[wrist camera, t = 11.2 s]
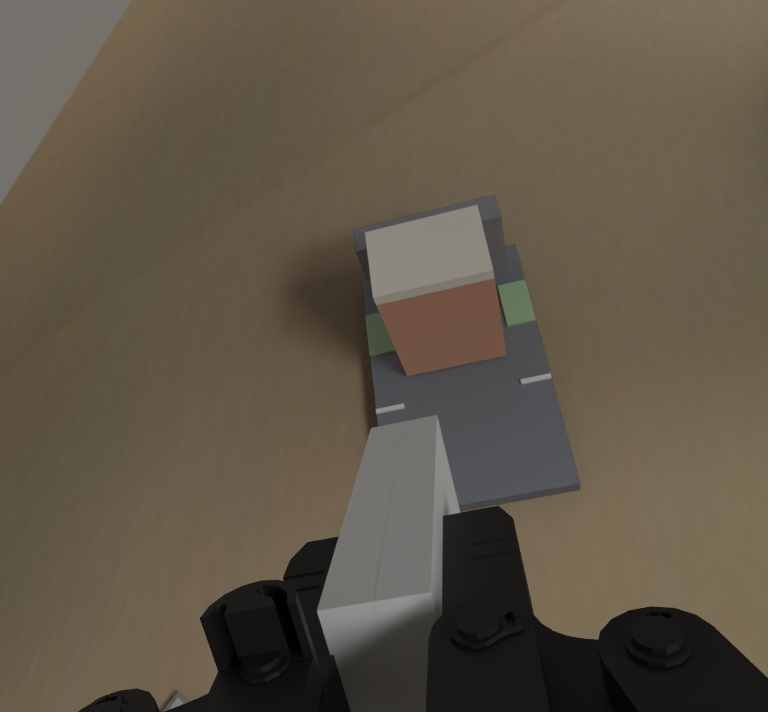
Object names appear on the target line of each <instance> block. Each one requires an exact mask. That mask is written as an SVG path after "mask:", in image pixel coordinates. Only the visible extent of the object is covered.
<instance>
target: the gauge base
mask: <svg viewBox="0 0 768 712" xmlns="http://www.w3.org/2000/svg"><path fill="white" fill-rule="evenodd" d="M474 205H478V209H479V213H480V217H481V221H482V225H483V229H484V234H485V238H486V242H487V246H488V250H489V254H490V258H491V262H492V266H493V271H494V277H495V283H496V290H497V296H498V302H499V309H500V315H501V321H502V327H503V334H504V340H505V346H506V353H507V355H506V356H501V357H496V358H492V359H487V360H482V361H477V362H473V363H468V364H463V365H459V366H454V367H449V368H444V369H440V370H435V371H430V372H425V373H421V374H416V375H411V376H407V375H406V372H405V370H404V368H403V365H402V363H401V361H400V359H399V356H398V354H397V352H396V349H395V347H394V345H393V343H392V340H391V338H390V336H389V333H388V331H387V329H386V327H385V324H384V322H383V320H382V317H381V315H380V313H379V311H378V308H377V306H376V304H375V301H374V299H373V294H372V286H371V278H370V270H369V262H368V254H367V245H366V237H365V232H368V231H372V230H376V229H380V228H384V227H388V226H393V225H397V224H401V223H405V222H409V221H413V220H417V219H421V218H425V217H429V216H433V215H437V214H442V213H446V212H450V211H454V210H458V209H462V208H466V207H470V206H474ZM353 231H354V240H355V249H356V253H357V255H358V258H359V260H360V262H361V265H362V267H363V269H364V272H365V274H366V276H367V279H365V280H362V289H363V298H364V307H365V320H366V329H367V338H368V347H369V355H370V360H371V369H372V377H373V386H374V395H375V404H376V414H377V422H378V427H379V426H384V425H389V424H394V423H399V422H404V421H409V420H414V419H419V418H424V417H429V416H434V415H437V417H438V421H439V425H440V429H441V434H442V438H443V442H444V446H445V450H446V455H447V459H448V463H449V467H450V471H451V475H452V480H453V484H454V488H455V492H456V496H457V501H458V505H459V509H460V511H464V510H470V509H475V508H481V507H487V506H492V505H498V504H503V503H509V502H514V501H520V500H525V499H531V498H537V497H542V496H548V495H553V494H559V493H564V492H570V491H576V490H580V481H579V477H578V473H577V470H576V466H575V462H574V459H573V455H572V451H571V448H570V444H569V440H568V436H567V433H566V429H565V425H564V422H563V418H562V414H561V411H560V407H559V403H558V400H557V396H556V392H555V389H554V385H553V381H552V377H551V373H550V370H549V367H548V363H547V359H546V356H545V352H544V348H543V345H542V341H541V337H540V334H539V330H538V326H537V323H536V318H535V314H534V311H533V307H532V303H531V299H530V296H529V292H528V288H527V285H526V281H525V279H524V275H523V271H522V268H521V264H520V260H519V256H518V253H517V249H516V245H515V244H514V245H510V246H506V247H505V244H504V236H503V228H502V221H501V215H500V211H499V207H498V203H497V200H496V196H495V195H491V196H487V197H483V198H479V199H475V200H471V201H467V202H463V203H459V204H455V205H451V206H447V207H442V208H438V209H434V210H430V211H426V212H422V213H418V214H414V215H410V216H406V217H402V218H398V219H394V220H390V221H386V222H382V223H377V224H373V225H369V226H365V227H361V228H357V229H353Z"/></svg>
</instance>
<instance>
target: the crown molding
mask: <svg viewBox="0 0 768 712" xmlns="http://www.w3.org/2000/svg"><path fill="white" fill-rule="evenodd" d="M188 702H189V701H188V700H187V699H186V698H185V697H184V696H183V695H182V694H181V693H180V692H179V691H177V692H176V694H175V695H174V697H173V698H172V699H171V701H170V702H169V703H168V705H167V706H166V707H165V709H164V710H163V711H162V712H164V711H167V710H169V709H172V708H175V707H177V706H180V705H182V704H185V703H188Z"/></svg>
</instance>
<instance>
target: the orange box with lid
mask: <svg viewBox="0 0 768 712" xmlns="http://www.w3.org/2000/svg"><path fill="white" fill-rule="evenodd" d="M365 237H366V245H367V254H368V262H369V270H370V278H371V286H372V294H373V299H374V301H375V304H376V306H377V308H378V311H379V313H380V315H381V317H382V320H383V322H384V324H385V327H386V329H387V331H388V333H389V336H390V338H391V340H392V343H393V345H394V347H395V349H396V352H397V354H398V356H399V359H400V361H401V363H402V365H403V368H404V370H405V372H406V375H407V376H411V375H416V374H421V373H425V372H430V371H435V370H440V369H444V368H449V367H454V366H459V365H463V364H468V363H473V362H477V361H482V360H487V359H492V358H496V357H501V356H506V355H507V353H506V346H505V340H504V334H503V327H502V321H501V315H500V309H499V302H498V296H497V290H496V283H495V277H494V271H493V266H492V262H491V258H490V254H489V250H488V246H487V242H486V238H485V234H484V229H483V225H482V221H481V217H480V213H479V209H478V205H474V206H470V207H466V208H462V209H458V210H454V211H450V212H446V213H442V214H437V215H433V216H429V217H425V218H421V219H417V220H413V221H409V222H405V223H401V224H397V225H393V226H388V227H384V228H380V229H376V230H372V231H368V232H365Z"/></svg>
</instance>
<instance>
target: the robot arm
mask: <svg viewBox="0 0 768 712" xmlns="http://www.w3.org/2000/svg"><path fill="white" fill-rule="evenodd" d="M283 579H284V581H280V580H265V581H258V582H254V583H251V584H247V585H244V586H241V587H239V588H237V589H235V590H233V591H231V592H229V593H227V594H225V595H223V596H222V597H221V598H219V599H218V600H217V601H215V602H214V603H213V604H211V605H210V606H209V607H208V609H207V610H206V611H205V612H204V614H203V615H202V616H201V617H200V620H201V623H202V626H203V629H204V632H205V635H206V637H207V640H208V643H209V646H210V649H211V652H212V654H213V657H214V660H215V663H216V666H217V669H218V674H217V676H216V678H215V680H214V682H213V685H212V687H211V689H210V691H209V693H208V694H206V695H204V696H202V697H200V698H198V699H195V700H193V701H190V702H188V703H185V704H182V705H180V706H177V707H175V708H172V709H169V710H167V711H164V712H768V678H767V677H766V676H765V675H764V674H763V673H762V672H761V671H760V670H759V669H758V668H757V667H756V666H754V665H753V664H752V663H751V662H750V661H749V660H748V659H747V658H746V657H745V656H744V655H743V654H742V653H741V652H740V651H739V650H738V649H737V648H736V647H735V646H733V645H732V644H731V643H730V642H729V641H728V640H727V639H726V638H725V637H724V636H723V635H722V634H721V633H720V632H719V631H718V630H717V629H716V628H715V627H714V626H712V625H711V624H709V623H708V622H706V621H705V620H703V619H702V618H700V617H699V616H697V615H695V614H692V613H689V612H685V611H682V610H679V609H676V608H666V607H646V608H640V609H635V610H629V611H627V612H625V613H623V614H621V615H619V616H617V617H615V618H613V619H611V620H610V621H609V623H608V624H607V625H606V626H605V627H604V628H603V629H602V630H601V631H600V635H599V640H594V639H583V638H577V637H571V636H566V635H563V634H560V633H558V632H555V631H552V630H551V629H549V628H548V627H546V626H544V625H543V624H541V622H540V621H539V620H538V619H537V618H536V617H535V616H534V614H533V608H532V603H531V598H530V593H529V589H528V584H527V580H526V575H525V571H524V566H523V562H522V557H521V552H520V548H519V543H518V539H517V534H516V530H515V525H514V521H513V518H512V517H511V516H510V515H509V514H507V513H506V512H505V511H504V510H503V509H501V508H500V507H499V506H495V507H489V508H484V509H478V510H473V511H467V512H462V513H460V509H459V505H458V501H457V496H456V492H455V488H454V484H453V480H452V475H451V471H450V467H449V463H448V459H447V455H446V450H445V446H444V442H443V438H442V434H441V429H440V425H439V421H438V417H437V415H434V416H429V417H424V418H419V419H414V420H409V421H404V422H399V423H394V424H389V425H384V426H379V427H374V428H371V430H370V433H369V437H368V440H367V443H366V447H365V450H364V453H363V457H362V460H361V464H360V467H359V470H358V474H357V477H356V480H355V484H354V487H353V491H352V494H351V497H350V501H349V504H348V507H347V511H346V514H345V518H344V521H343V524H342V528H341V531H340V534H339V537H334V538H329V539H323V540H317V541H312V542H307V543H306V544H305V545H304V546H303V547H302V548H301V549H300V550H299V551H298V552H297V553H296V554H295V556H294V557H293V558H292V559H291V560H290V562H289V564H288V567H287V569H286V572H285V574H284V577H283ZM79 712H160V711H159V708H158V706H157V703H156V701H155V699H154V698H153V697H152V695H151V694H150V692H147V691H144V690H140V689H129V690H121V691H118V692H115V693H111V694H109V695H105V696H103V697H101V698H98V699H97V700H95V701H94V702H93V703H91V704H89V705H88V706H86V707H85V708H83V709H81V710H80V711H79Z"/></svg>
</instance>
